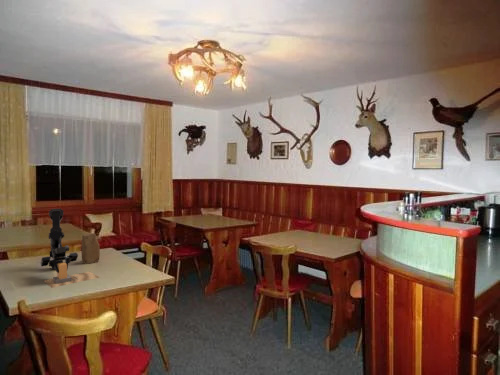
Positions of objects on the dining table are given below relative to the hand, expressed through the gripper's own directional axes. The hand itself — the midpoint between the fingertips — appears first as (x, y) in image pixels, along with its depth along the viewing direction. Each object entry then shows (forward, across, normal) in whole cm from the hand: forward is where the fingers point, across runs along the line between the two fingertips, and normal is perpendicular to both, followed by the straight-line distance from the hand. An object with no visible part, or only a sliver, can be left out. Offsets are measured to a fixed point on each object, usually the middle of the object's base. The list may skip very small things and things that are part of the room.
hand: (62, 271), depth 203 cm
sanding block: (+3, 0, +5) cm, 6 cm away
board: (+4, +5, +6) cm, 9 cm away
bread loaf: (-20, +27, +30) cm, 45 cm away
